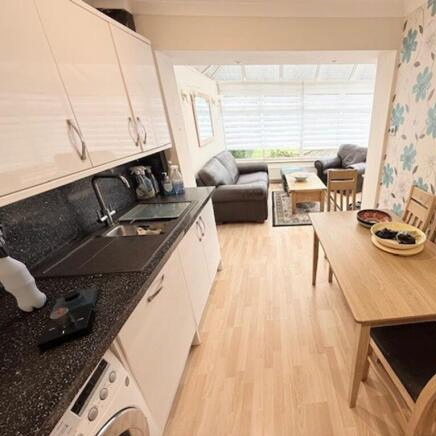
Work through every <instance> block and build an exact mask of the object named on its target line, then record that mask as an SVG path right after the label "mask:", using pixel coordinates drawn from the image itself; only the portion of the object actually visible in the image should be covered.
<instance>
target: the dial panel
mask: <svg viewBox="0 0 436 436" xmlns="http://www.w3.org/2000/svg"><path fill="white" fill-rule="evenodd" d="M95 315H96V312H95V310H94V307H90V308H87V309H84V310H81V311H78V312H75V313H72V316H73V317H74V319H75V322H74V323H73V324H72V325H71V326H70V327H68V328H66V329H63V330H59V329H57V327H56V326H55V324H54V323H53V321H52V320H48V321H47V323H46V325H45V327H44V329H43V331H42V333H41V334H40V335H41V336H40V338H39V339H38V342H37V343H36V346H37V347H38V349H39V350H40V351H41V352H44V351H47V350H49V349H53V348H55V347H59V346H60V345H63V344H66V343H68V342H71V341H75V340H76V339H79V338H82V337H84V336H87V335H90V334H91V331H92V327H93V323H94V321H95Z"/></svg>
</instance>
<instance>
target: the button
mask: <svg viewBox="0 0 436 436" xmlns="http://www.w3.org/2000/svg"><path fill="white" fill-rule="evenodd" d="M78 296H79V293H78V291H77V289H75V290H71V291H68V292H67V293H65V294H64V295H63V297H64V299H65V300H66V301H71V300H74V299H76V298H77V297H78Z"/></svg>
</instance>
